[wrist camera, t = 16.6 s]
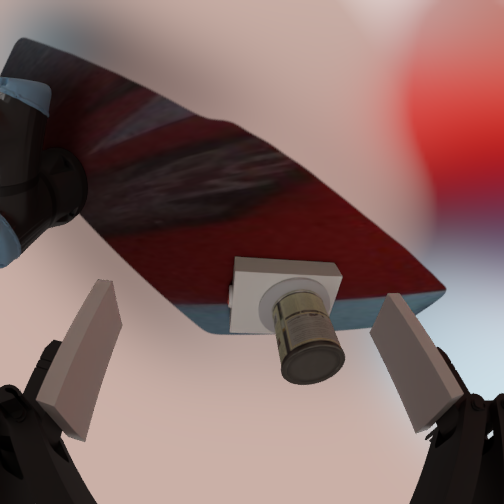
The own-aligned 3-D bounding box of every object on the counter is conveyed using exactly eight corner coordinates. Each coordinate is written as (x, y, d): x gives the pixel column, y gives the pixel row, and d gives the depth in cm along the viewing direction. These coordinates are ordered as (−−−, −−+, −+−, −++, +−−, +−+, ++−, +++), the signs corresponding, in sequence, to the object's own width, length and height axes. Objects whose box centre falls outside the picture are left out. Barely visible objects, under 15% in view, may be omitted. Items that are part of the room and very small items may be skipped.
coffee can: (329, 317, 54) (349, 371, 42) (282, 335, 56) (292, 391, 44) (315, 280, 50) (338, 336, 37) (263, 301, 51) (271, 360, 39)
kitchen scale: (230, 256, 53) (230, 274, 48) (334, 262, 55) (344, 279, 50) (226, 316, 60) (225, 335, 55) (317, 318, 63) (323, 336, 57)
